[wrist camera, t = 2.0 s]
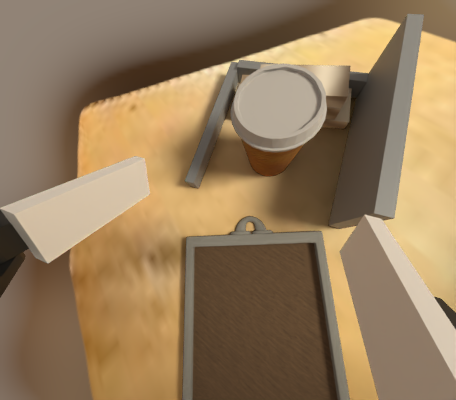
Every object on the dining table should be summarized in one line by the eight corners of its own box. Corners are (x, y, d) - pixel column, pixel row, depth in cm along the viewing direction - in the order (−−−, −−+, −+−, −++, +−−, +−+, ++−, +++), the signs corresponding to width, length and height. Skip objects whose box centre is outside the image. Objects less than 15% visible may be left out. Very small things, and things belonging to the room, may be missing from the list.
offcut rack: (367, 91, 29) (423, 14, 19) (340, 228, 24) (394, 218, 15) (233, 75, 34) (224, 7, 24) (190, 186, 29) (158, 157, 20)
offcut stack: (345, 98, 29) (367, 63, 24) (342, 130, 28) (365, 100, 22) (239, 93, 33) (235, 61, 27) (232, 121, 32) (227, 93, 26)
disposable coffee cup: (310, 143, 28) (347, 73, 17) (285, 196, 27) (306, 159, 15) (255, 124, 30) (254, 50, 19) (229, 171, 29) (211, 123, 17)
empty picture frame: (179, 490, 20) (186, 219, 27) (185, 472, 21) (190, 220, 29) (371, 521, 17) (319, 211, 24) (361, 498, 18) (315, 213, 26)
